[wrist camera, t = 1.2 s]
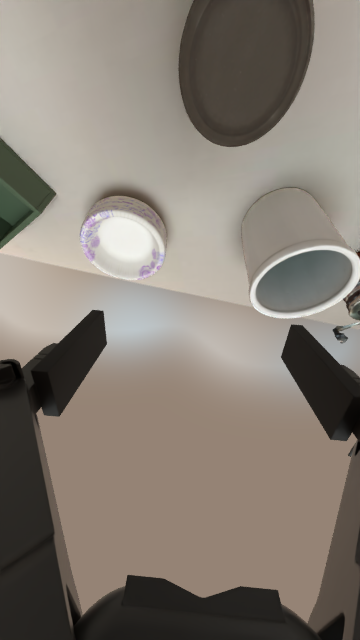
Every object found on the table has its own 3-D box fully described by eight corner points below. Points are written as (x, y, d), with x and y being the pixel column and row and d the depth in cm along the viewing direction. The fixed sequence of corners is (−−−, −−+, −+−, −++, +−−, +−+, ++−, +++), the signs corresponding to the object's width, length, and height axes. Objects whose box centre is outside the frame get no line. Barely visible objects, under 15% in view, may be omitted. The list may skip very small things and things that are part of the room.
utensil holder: (221, 230, 44) (229, 295, 34) (289, 161, 35) (329, 223, 24) (267, 265, 51) (285, 328, 41) (335, 216, 41) (381, 283, 31)
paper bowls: (159, 264, 52) (156, 288, 47) (92, 247, 49) (81, 272, 44) (177, 201, 40) (174, 225, 35) (89, 173, 37) (74, 196, 32)
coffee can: (261, 108, 30) (287, 144, 22) (184, 112, 30) (181, 150, 22) (287, -37, 21) (346, -67, 13) (181, -26, 22) (173, -49, 14)
